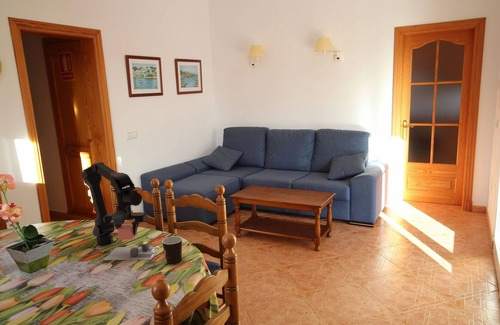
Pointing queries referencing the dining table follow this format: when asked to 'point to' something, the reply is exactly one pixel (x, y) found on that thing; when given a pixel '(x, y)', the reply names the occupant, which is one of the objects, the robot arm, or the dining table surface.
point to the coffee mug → (173, 249)
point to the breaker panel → (124, 254)
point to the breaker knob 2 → (145, 246)
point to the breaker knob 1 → (134, 252)
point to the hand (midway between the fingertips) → (128, 235)
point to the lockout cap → (126, 232)
